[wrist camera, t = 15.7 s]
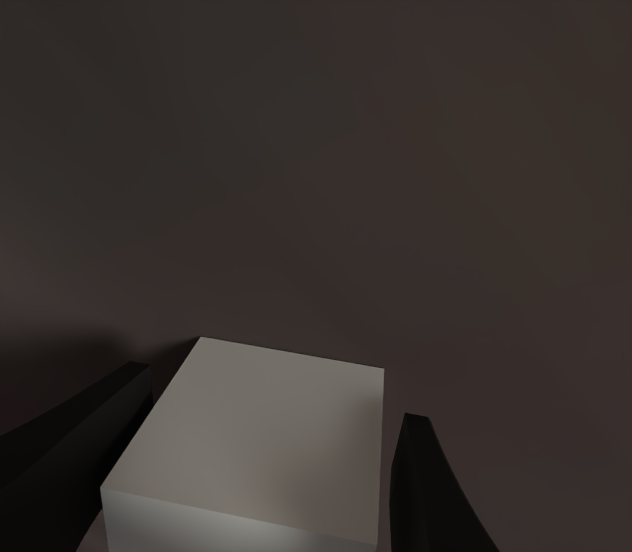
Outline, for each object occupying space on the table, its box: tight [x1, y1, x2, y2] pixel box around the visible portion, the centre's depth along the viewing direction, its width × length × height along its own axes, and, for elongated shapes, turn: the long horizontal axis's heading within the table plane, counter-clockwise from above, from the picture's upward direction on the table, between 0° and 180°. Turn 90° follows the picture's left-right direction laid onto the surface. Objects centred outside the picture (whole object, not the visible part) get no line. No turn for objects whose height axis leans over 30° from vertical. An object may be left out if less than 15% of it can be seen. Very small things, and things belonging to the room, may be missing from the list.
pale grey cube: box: [100, 337, 384, 552], centre depth 14 cm, size 6×6×6 cm
